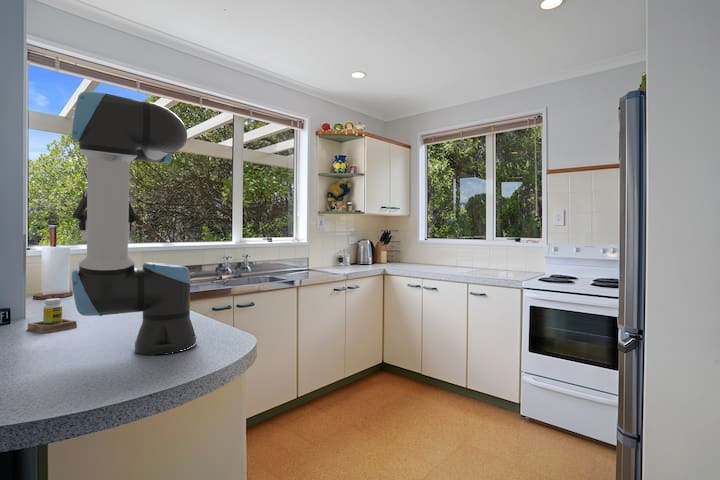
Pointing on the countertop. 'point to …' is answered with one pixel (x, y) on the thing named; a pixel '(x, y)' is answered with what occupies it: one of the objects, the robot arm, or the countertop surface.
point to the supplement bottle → (52, 312)
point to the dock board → (52, 326)
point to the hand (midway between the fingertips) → (106, 240)
